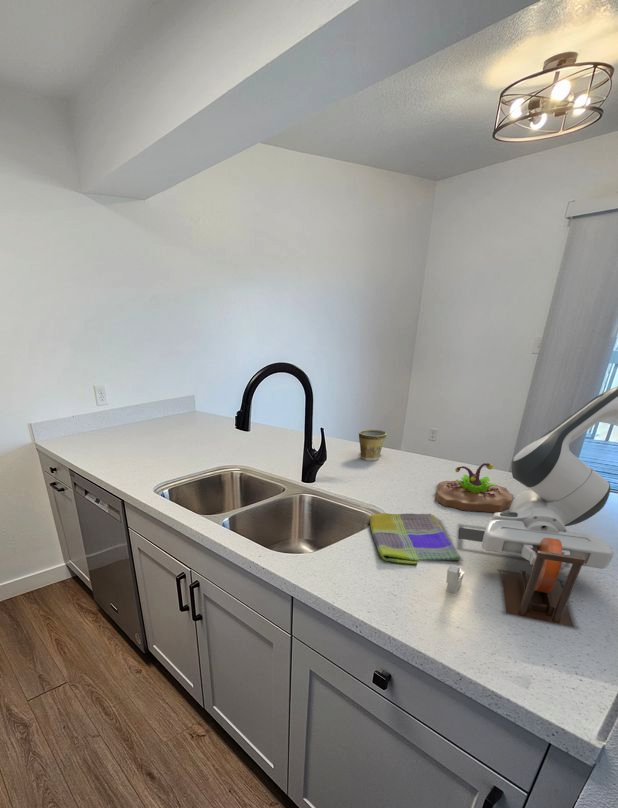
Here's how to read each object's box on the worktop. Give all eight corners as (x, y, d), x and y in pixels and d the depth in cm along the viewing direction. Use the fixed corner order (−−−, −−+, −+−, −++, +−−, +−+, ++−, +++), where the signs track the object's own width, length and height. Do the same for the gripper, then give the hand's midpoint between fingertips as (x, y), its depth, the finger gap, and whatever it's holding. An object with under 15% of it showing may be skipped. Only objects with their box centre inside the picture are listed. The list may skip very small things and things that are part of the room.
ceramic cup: (383, 462, 163) (386, 436, 158) (355, 461, 166) (357, 435, 162) (384, 453, 173) (387, 428, 169) (357, 452, 177) (360, 427, 172)
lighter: (450, 586, 89) (458, 552, 86) (459, 589, 88) (468, 555, 85) (440, 602, 85) (447, 567, 81) (449, 606, 84) (458, 570, 80)
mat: (554, 542, 103) (555, 540, 103) (564, 571, 92) (565, 568, 92) (459, 529, 112) (459, 527, 111) (458, 554, 101) (458, 551, 100)
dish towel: (376, 563, 99) (378, 552, 98) (368, 519, 120) (369, 510, 119) (461, 568, 95) (463, 557, 94) (436, 522, 116) (438, 512, 115)
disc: (541, 576, 85) (556, 530, 81) (548, 603, 77) (566, 554, 73) (528, 574, 86) (543, 528, 82) (534, 600, 78) (551, 552, 74)
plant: (512, 517, 116) (524, 477, 111) (432, 506, 125) (439, 469, 120) (510, 492, 131) (520, 456, 126) (439, 484, 140) (445, 450, 135)
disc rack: (557, 586, 87) (580, 523, 81) (572, 633, 75) (600, 563, 69) (499, 575, 92) (517, 516, 85) (504, 618, 79) (525, 552, 73)
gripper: (596, 554, 86) (615, 590, 75) (478, 537, 95) (479, 567, 84) (608, 526, 83) (629, 559, 73) (485, 511, 92) (487, 538, 81)
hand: (547, 563), depth 78 cm, fingers closed on disc, 2 cm apart
